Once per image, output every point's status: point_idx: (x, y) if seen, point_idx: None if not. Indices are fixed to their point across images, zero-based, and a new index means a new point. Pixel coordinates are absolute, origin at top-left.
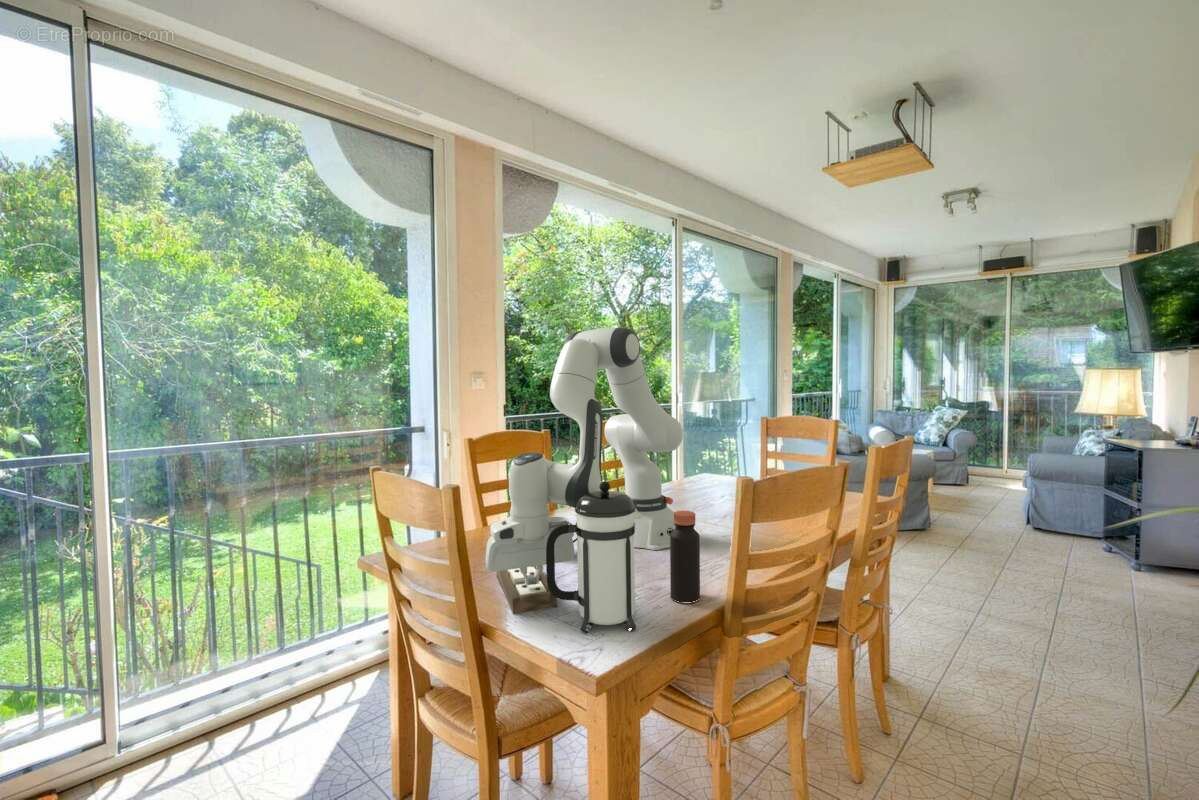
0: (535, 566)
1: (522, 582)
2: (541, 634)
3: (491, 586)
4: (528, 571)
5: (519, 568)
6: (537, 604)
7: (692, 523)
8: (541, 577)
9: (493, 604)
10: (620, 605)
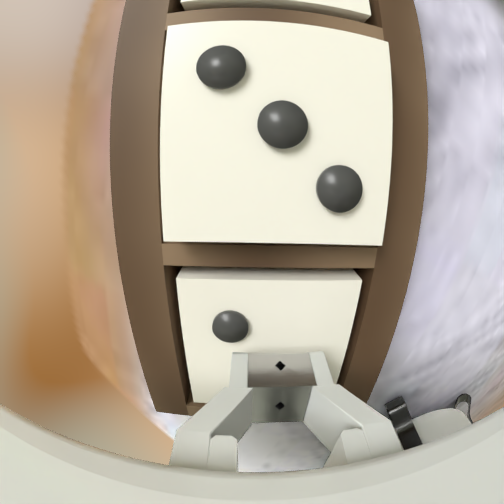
0: (338, 441)
1: (234, 247)
2: (238, 458)
3: (115, 33)
4: (326, 114)
5: (175, 437)
6: None
7: None
8: (392, 209)
9: (94, 251)
10: None
